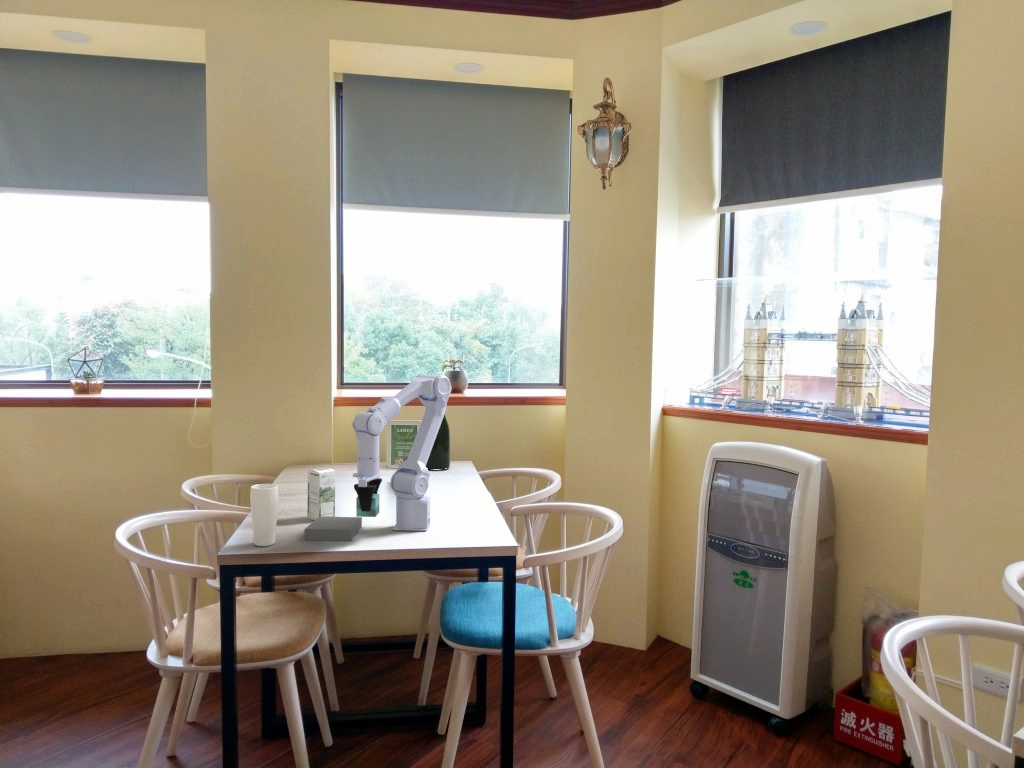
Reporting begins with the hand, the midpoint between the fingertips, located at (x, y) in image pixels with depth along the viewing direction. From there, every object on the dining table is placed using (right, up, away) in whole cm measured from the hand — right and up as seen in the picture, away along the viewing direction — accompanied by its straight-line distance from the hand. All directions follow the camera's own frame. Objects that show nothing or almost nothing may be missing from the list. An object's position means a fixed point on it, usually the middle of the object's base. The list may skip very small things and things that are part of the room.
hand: (368, 508), depth 190 cm
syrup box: (-18, -7, +21) cm, 28 cm away
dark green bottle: (+8, -2, +103) cm, 104 cm away
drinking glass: (-25, -8, -6) cm, 27 cm away
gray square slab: (-10, -8, +5) cm, 13 cm away
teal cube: (0, -2, 0) cm, 2 cm away
